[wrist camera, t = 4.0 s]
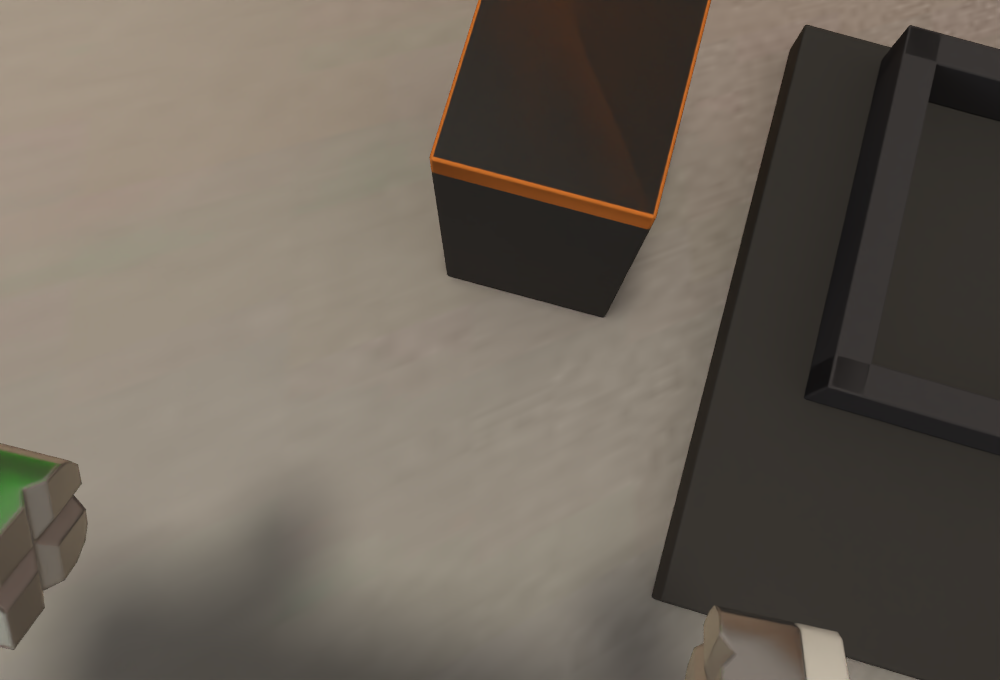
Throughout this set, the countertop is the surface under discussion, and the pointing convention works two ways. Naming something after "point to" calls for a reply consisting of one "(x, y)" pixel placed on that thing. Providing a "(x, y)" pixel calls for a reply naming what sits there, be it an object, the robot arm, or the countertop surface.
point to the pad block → (561, 142)
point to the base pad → (861, 366)
